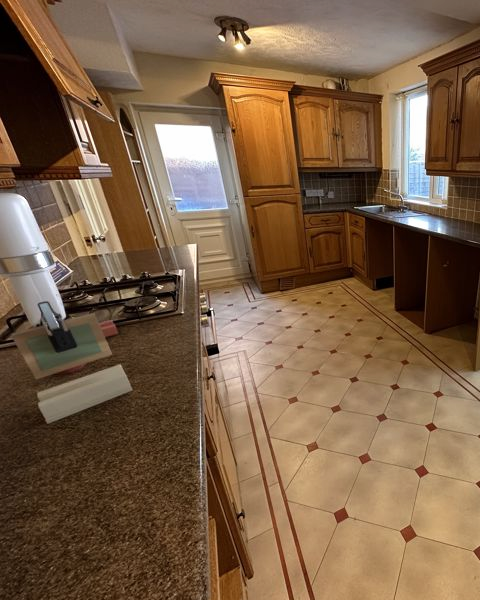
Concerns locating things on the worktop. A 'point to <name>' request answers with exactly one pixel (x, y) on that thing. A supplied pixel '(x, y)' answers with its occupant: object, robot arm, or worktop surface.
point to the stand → (108, 328)
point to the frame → (49, 362)
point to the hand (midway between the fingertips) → (66, 347)
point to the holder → (82, 393)
